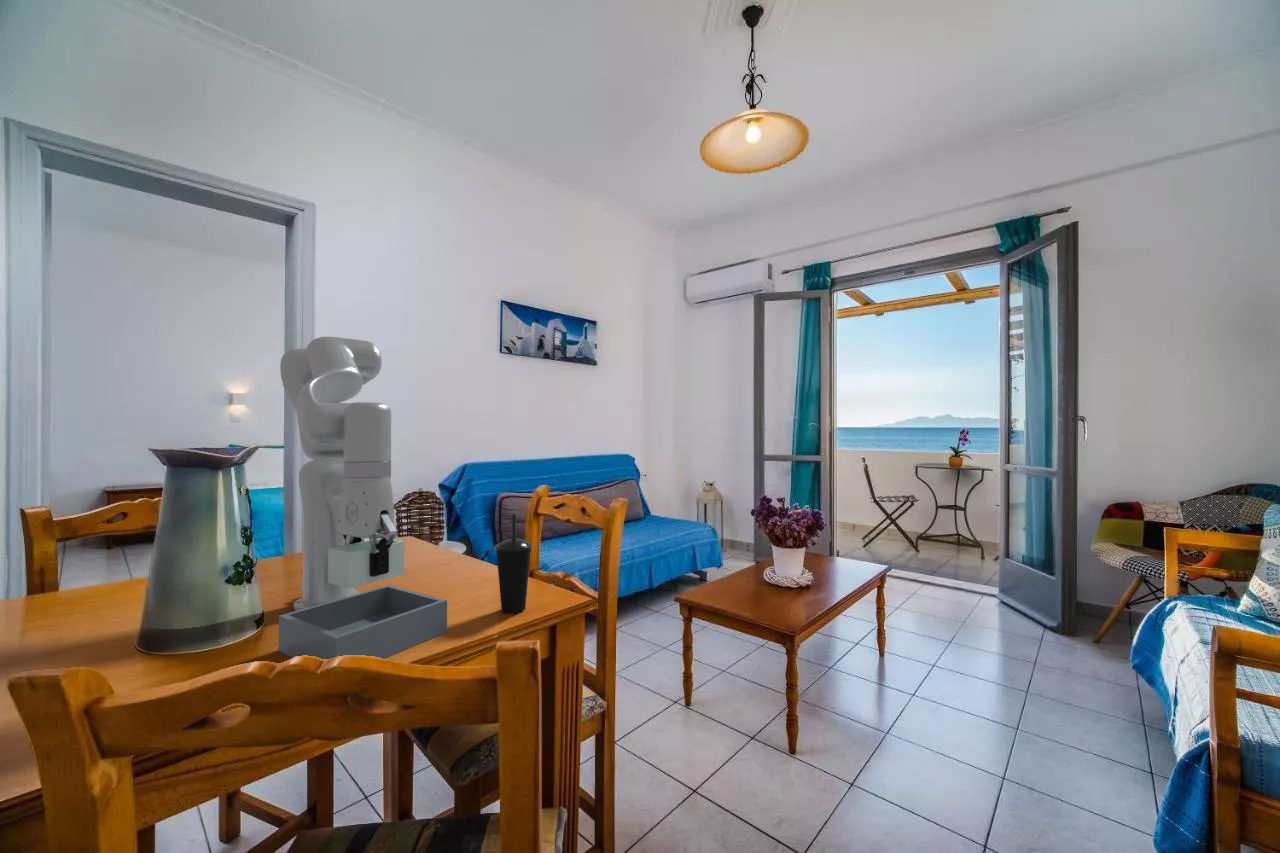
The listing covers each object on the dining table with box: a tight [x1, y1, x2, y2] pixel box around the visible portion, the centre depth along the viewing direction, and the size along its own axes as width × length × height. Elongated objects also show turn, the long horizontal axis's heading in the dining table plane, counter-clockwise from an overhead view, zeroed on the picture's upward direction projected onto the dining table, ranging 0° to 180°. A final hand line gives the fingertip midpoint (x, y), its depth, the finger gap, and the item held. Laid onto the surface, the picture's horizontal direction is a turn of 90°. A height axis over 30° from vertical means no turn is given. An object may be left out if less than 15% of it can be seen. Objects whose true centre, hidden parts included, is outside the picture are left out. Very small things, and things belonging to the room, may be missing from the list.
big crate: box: [277, 584, 448, 659], centre depth 89 cm, size 18×20×6 cm
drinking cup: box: [494, 514, 533, 614], centre depth 105 cm, size 8×8×20 cm
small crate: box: [328, 538, 405, 589], centre depth 89 cm, size 6×10×6 cm, turn 149°
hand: (367, 571), depth 89 cm, fingers closed on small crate, 6 cm apart
